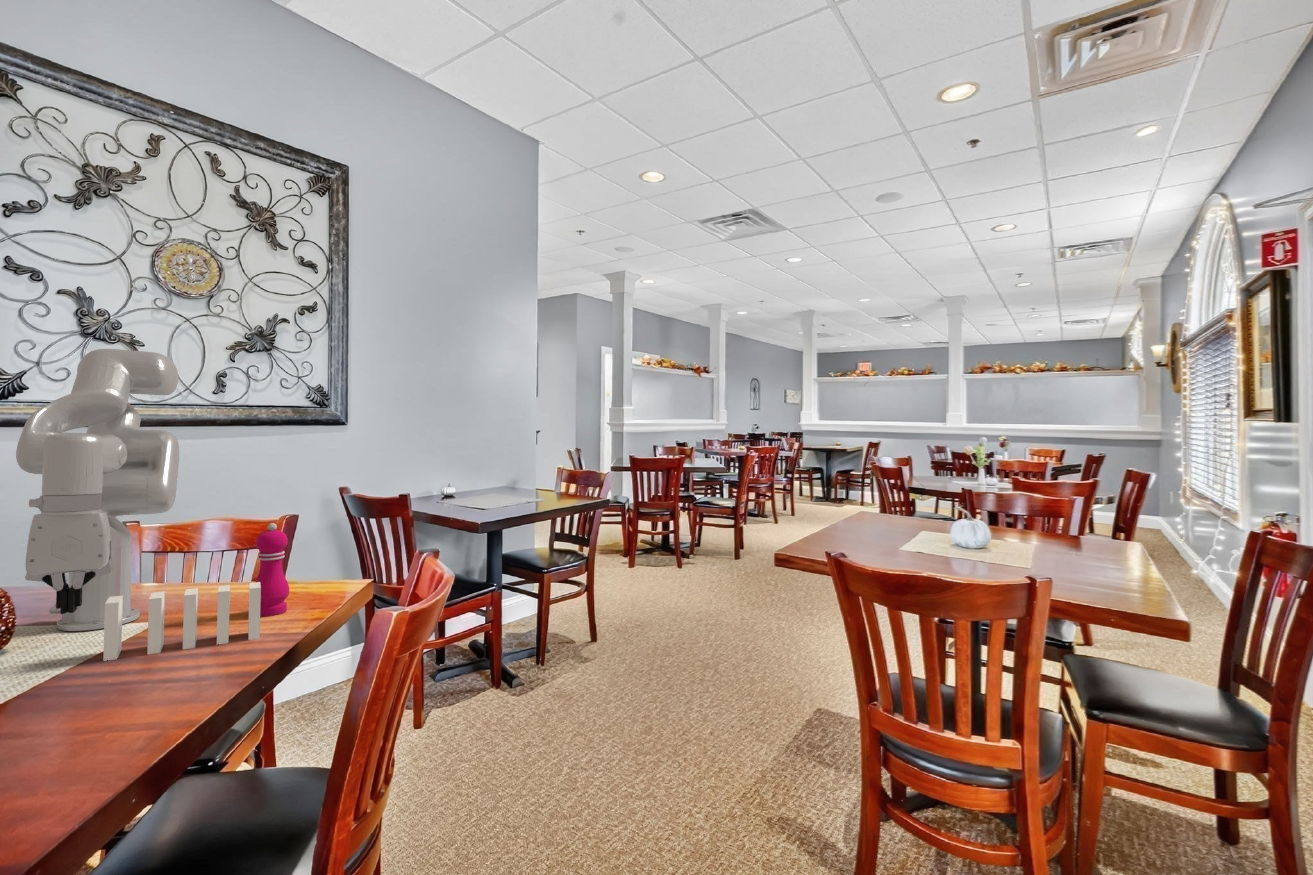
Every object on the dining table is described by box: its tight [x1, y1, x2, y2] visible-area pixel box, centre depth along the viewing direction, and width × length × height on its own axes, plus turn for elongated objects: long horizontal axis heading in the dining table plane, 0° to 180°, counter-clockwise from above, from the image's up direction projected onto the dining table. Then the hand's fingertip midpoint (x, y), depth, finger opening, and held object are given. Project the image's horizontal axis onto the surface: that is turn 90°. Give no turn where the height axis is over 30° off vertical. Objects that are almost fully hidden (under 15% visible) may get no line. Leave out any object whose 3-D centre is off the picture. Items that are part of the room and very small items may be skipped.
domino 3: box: [216, 584, 231, 646], centre depth 116 cm, size 2×5×10 cm, turn 35°
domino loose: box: [102, 596, 123, 662], centre depth 107 cm, size 2×5×10 cm, turn 36°
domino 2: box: [182, 587, 199, 651], centre depth 113 cm, size 2×5×10 cm, turn 35°
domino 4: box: [247, 582, 261, 641], centre depth 119 cm, size 2×5×10 cm, turn 35°
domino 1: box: [146, 591, 166, 656], centre depth 110 cm, size 2×5×10 cm, turn 35°
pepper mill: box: [254, 522, 290, 617], centre depth 134 cm, size 7×7×20 cm
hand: (68, 611), depth 103 cm, fingers closed
